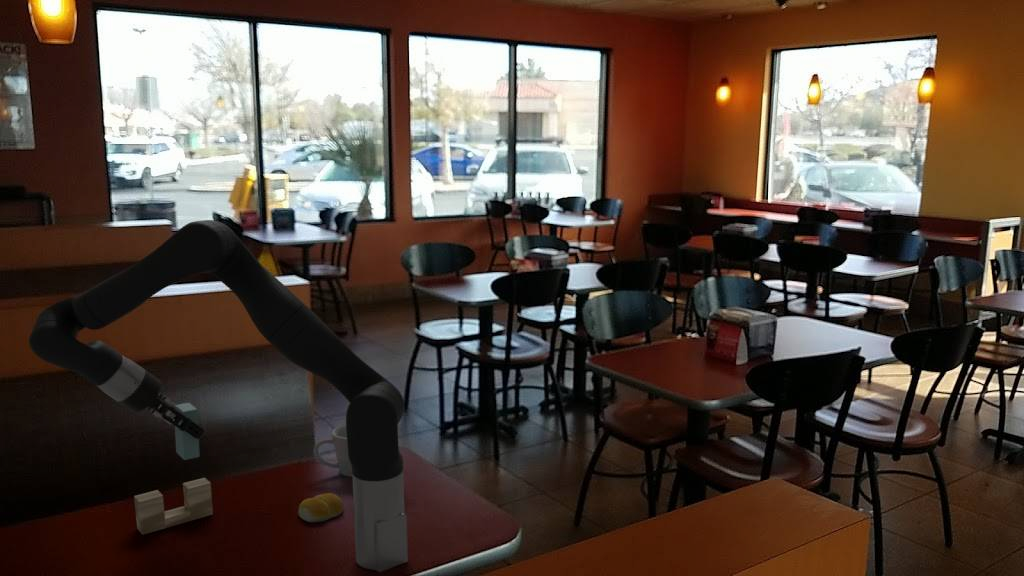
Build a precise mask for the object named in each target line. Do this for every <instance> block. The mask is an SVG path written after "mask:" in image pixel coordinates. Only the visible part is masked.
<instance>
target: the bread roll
mask: <svg viewBox="0 0 1024 576" xmlns="http://www.w3.org/2000/svg"><path fill="white" fill-rule="evenodd" d="M343 510H344V503H343V500H342V499H341V498H340V497H339V496H338V495H336V494H334V493H331V492H330V493H329V492H328V493H321V494H317V495H315V496H314V497H309V498H306V499H304V500H302V502H301V503H300V504H299V506H298V512H297V514H298V516H299V517H300V519H302V520H304V521H306V522H308V523H321V522H325V521H328V520H330V519H331V518H335V517H338V516H340V515H341V514H342V513H343Z"/></svg>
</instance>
